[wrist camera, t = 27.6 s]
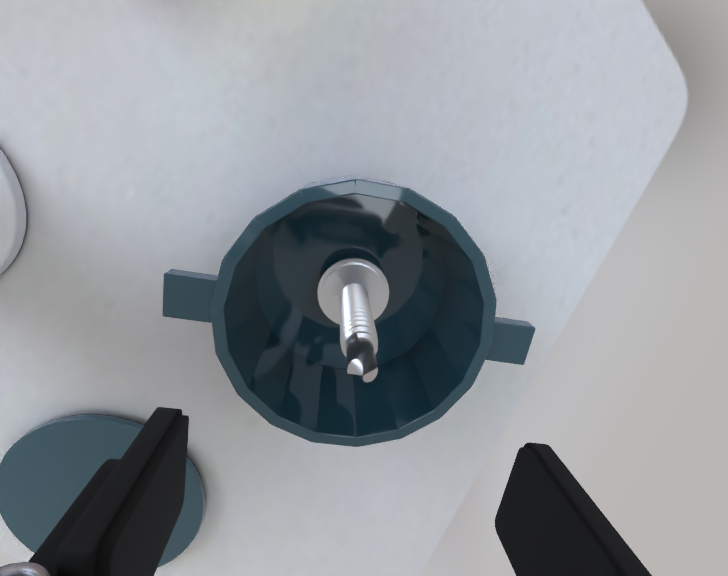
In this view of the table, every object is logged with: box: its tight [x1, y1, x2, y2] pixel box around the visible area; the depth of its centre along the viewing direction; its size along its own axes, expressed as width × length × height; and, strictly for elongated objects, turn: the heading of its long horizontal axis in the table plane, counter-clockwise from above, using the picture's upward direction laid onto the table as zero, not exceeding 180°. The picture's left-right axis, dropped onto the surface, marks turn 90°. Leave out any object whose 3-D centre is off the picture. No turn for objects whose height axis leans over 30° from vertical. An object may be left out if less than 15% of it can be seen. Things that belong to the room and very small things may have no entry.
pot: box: [163, 176, 535, 447], centre depth 25 cm, size 15×20×8 cm
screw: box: [317, 258, 389, 382], centre depth 22 cm, size 13×5×5 cm
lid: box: [0, 414, 205, 568], centre depth 30 cm, size 16×16×6 cm
